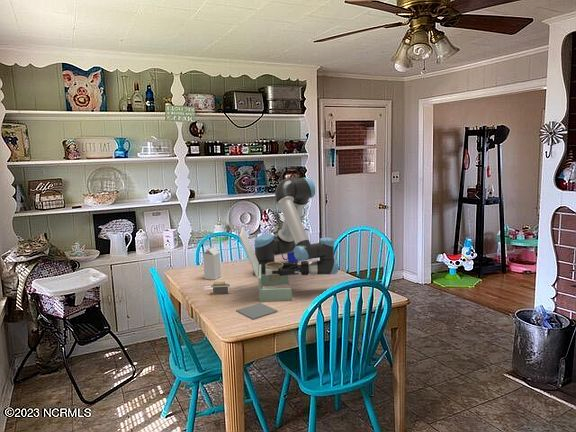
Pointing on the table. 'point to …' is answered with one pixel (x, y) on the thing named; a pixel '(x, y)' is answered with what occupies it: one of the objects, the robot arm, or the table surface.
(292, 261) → the mug
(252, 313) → the mat
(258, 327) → the table surface
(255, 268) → the frame lid
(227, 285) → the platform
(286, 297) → the cold frame
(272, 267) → the flower pot
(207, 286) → the table surface
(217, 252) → the milk carton
